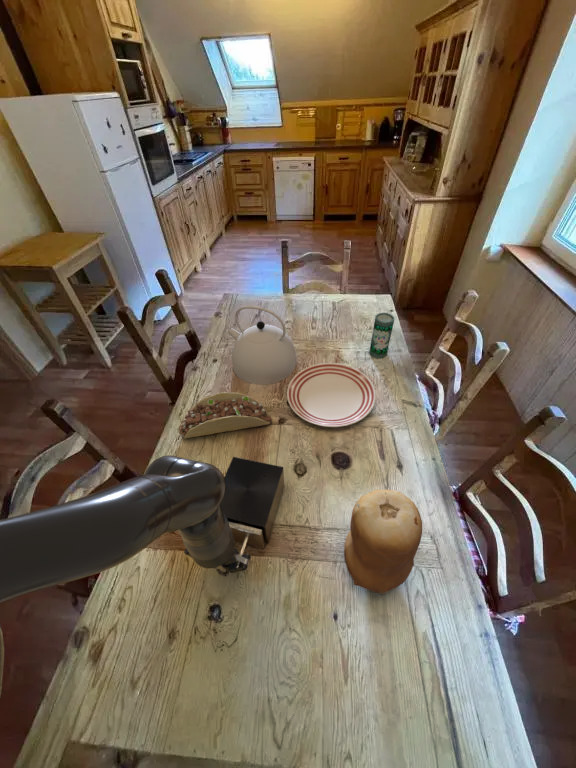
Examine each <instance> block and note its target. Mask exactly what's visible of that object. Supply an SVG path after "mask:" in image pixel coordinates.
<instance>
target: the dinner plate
mask: <svg viewBox="0 0 576 768" xmlns="http://www.w3.org/2000/svg"><path fill="white" fill-rule="evenodd" d="M286 399H287V402H288V405H289V407H290V408H291V410H292V411H293V412H294V414H295V415H296V416H298V417H299V418H300V419H302V420H303V421H306V422H308V423H310V424H312V425H316V426H319V427H323V428H324V427H325V428H341V427H342V428H343V427H347V426H350V425H353V424H356V423H358V422H360V421H362V420H363V419H365V418H366V417H367V416H368V415H369V414H370V413H371V412H372V411H373V409H374V407H375V404H376V401H377V391H376V388H375V385H374V384H373V382H372V381H371V379H370V377H368V376H367V375H366V374H365V373H364V372H362V371H361V370H359V369H357V368H356V367H352V366H351V365H347V364H343V363H338V362H337V363H336V362H322V363H317V364H313V365H310V366H307V367H305V368H304V369H303V368H302V370H300V371H298V372H297V373H296V374H295V375H294V376H293V377H292V378H291V380H290V381H289V383H288V386H287V389H286Z"/></svg>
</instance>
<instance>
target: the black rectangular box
mask: <svg viewBox="0 0 576 768" xmlns="http://www.w3.org/2000/svg"><path fill="white" fill-rule="evenodd" d="M284 471H285V470H284V466H280V465H275V464H271V463H265V462H260V461H256V460H252V459H246V458H242V457H236V456H233V457H232V459H231V460H230V464H229V466H228V468H227V471H226V473H225V475H224V479H225V494H224V497H223V500H222V502H221V504H220V505H221V508H222V511H223V513H224V515H225V516H226V518H227V519H229V520H233V521H237V522H241V523H245V524H249V525H253V526H257V527H261V528H262V531H263V537H264V542H265V544H266V545H269V543H270V539H271V536H272V532H273V529H274V525H275V523H276V519H277V514H278V511H279V507H280V504H281V501H282V497H283V494H284V491H285V488H286V487H285V473H284Z"/></svg>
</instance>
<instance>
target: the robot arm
mask: <svg viewBox="0 0 576 768" xmlns="http://www.w3.org/2000/svg"><path fill="white" fill-rule="evenodd" d="M224 477H225V475H224V474H223V473H222V471H221V470H220V468H218V467H217V466H215V465H214V464H211V463H207V462H204V461H200V460H199V461H198V460H194V459H189V458H185V457H181V456H176V455H164V456H160V457H158V458H156V459H154V461H152V462H151V463H150V464H149V465H148V466H147V468H146V469H145V472H144V474H142V475H137V476H134V477H131V478H129V479H126V480H124V481H121V482H119V483H116V484H113V485H111V486H108V487H106V488H103V489H101V490H98V491H96V492H93V493H90V494H88V495H84V496H82V497H78V498H75V499H72V500H68V501H66V502H62V503H59V504H56V505H53V506H48V507H46V508H41V509H38V510H34V511H29V512H27V513H26V512H25V513H22V514H20V515H16V516H15V515H14V516H10V517H7V518H2V519H0V605H1V604H3V603H6V602H8V601H11V600H13V599H16V598H18V597H19V598H20V597H22V596H25V595H28V594H31V593H34V592H37V591H41V590H44V589H49V588H53V587H54V586H55V587H56V586H59V585H62V584H66V583H70V582H74V581H78V580H81V579H84V578H88V577H90V576H93V575H96V574H100V573H102V572H106V571H108V570H110V569H113V568H115V567H117V566H119V565H121V564H123V563H125V562H127V561H129V560H131V559H132V558H134V557H136V555H138V554H139V553H140V552H142V551H144V550H145V549H146V548H147V547H149V546H150V545H152V544H153V543H154V542H155V541H157V540H158V539H159V538H161V537H162V536H163V535H166V534H169V533H170V534H171V533H175V532H178V535H180V537H181V540H182V543H183V545H184V547H185V549H184V552H183V553H184V554H185V555H186V556H188V557H190V558H192V560H193V562H195V564H196V565H198V566H199V567H201V568H203V569H207V570H208V569H210V570H212V569H213V570H215V571H216V572H217V574H218V575H220V576H223V577H227V575H230V574H236V573H241V572H246V571H248V567H249V564H250V561H251V557H252V555H250V554H249V553H244V554H240V552H239V550H238V549H237V548H236V547H235V541H234V537H233V534H232V531H231V528H230V526H229V523H228V520H227V518H226V516H225V515H224V513H223V511H222V508H221V505H220V504H221V502H222V500H223V497H224V494H225V479H224ZM2 629H3V628H2V625H1V623H0V697H1V695H2V688H3V677H4V668H5V667H4V666H5V642H4V636H3V635H4V634H3V630H2Z"/></svg>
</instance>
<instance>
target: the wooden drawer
mask: <svg viewBox="0 0 576 768" xmlns="http://www.w3.org/2000/svg"><path fill="white" fill-rule="evenodd" d="M227 520H228V523H229V526H230V528H231V531H232V534H233V537H234V542H236V543H241V544H242V546H241V550H240V552H239V555H240V554H245V550H246V547H247V545H249V546H252V547H255V548H260V549H264V548H265V544H266V543H265V542H264V537H263V531H262V528H261V527H257V526H253V525H250V526H245V525H241V524H239V523H238V522H237V521H233V520H229V519H227Z"/></svg>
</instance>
